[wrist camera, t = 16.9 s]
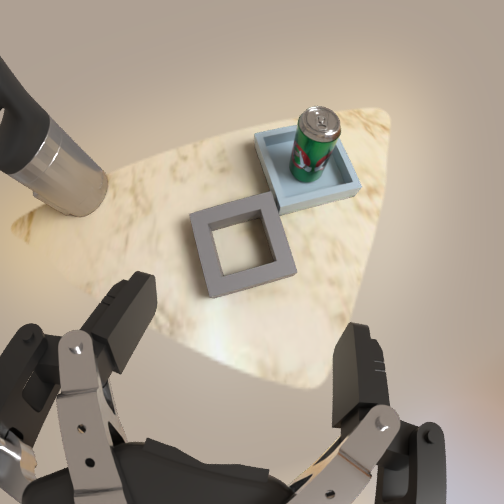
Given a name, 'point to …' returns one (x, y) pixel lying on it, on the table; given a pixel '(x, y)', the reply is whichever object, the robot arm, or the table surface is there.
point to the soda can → (314, 143)
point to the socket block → (236, 214)
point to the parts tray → (293, 190)
